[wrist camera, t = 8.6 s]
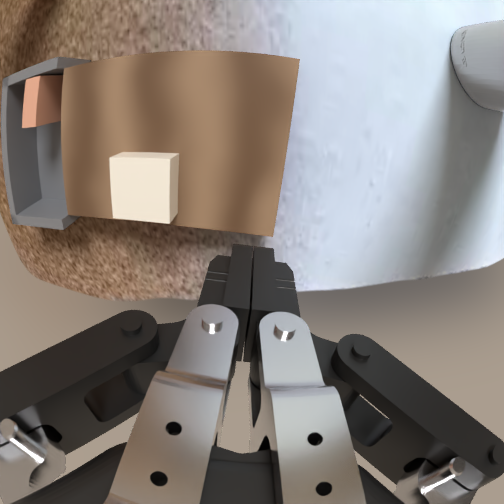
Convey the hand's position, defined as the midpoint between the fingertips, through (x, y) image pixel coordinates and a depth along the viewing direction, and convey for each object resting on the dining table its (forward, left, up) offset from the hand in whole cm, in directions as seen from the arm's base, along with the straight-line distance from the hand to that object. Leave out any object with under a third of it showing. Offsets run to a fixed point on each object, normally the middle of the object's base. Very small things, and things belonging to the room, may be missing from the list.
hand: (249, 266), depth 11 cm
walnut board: (+7, -3, -14) cm, 16 cm away
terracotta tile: (+19, -7, -11) cm, 23 cm away
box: (+20, -3, -14) cm, 25 cm away
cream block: (+8, 0, -10) cm, 12 cm away
